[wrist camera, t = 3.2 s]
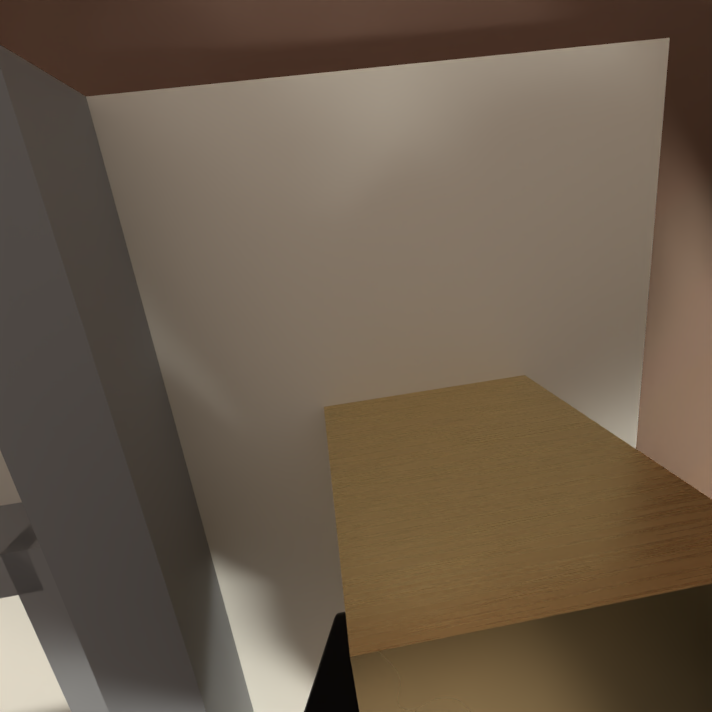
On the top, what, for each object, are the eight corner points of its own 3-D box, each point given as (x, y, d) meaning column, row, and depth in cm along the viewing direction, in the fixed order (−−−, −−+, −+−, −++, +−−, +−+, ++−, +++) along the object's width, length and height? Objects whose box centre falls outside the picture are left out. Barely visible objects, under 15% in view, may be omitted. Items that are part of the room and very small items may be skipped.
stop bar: (525, 698, 11) (691, 1050, 6) (374, 731, 11) (429, 1126, 6) (524, 375, 8) (808, 563, 4) (323, 406, 8) (350, 656, 3)
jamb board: (581, 763, 14) (657, 911, 11) (-174, 938, 12) (-330, 1168, 9) (618, 64, 8) (806, -34, 5) (-822, 214, 6) (-1826, 202, 3)
